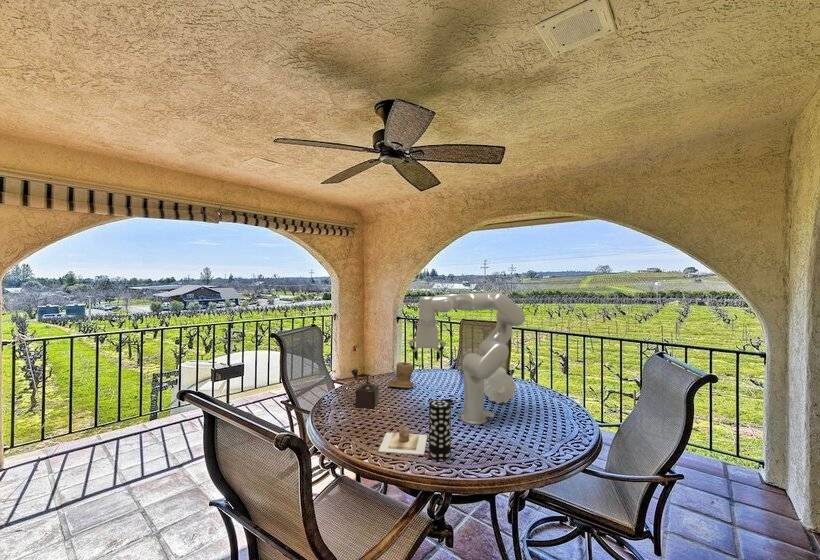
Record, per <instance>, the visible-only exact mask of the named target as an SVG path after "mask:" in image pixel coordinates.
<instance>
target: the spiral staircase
mask: <svg viewBox="0 0 820 560" xmlns="http://www.w3.org/2000/svg"><path fill="white" fill-rule="evenodd" d="M516 388H517V385H516V383H515V382H514V378H513V377H512V376H511V375H509V374H508V373H507V370H506V369H505V368H503V367H501V366H500V367H499V368H498V369H497V370H496V371H495V372H494V373H493V374H492V375H491V376H490V377H489V378H487V379H484V395H485V396H487V398H488V401H492V402H495V403H496V404H497V405H498V404H502V403H504V404H506V403H508V401H510V400H511V399H512V400H513V399H514V397H515V396H516Z"/></svg>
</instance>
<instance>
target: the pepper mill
mask: <svg viewBox="0 0 820 560" xmlns="http://www.w3.org/2000/svg"><path fill="white" fill-rule="evenodd" d="M358 373H359V370H358V368H353V369H352V370H351V375H352V377H353V378H354V380H355V381H365V380H366V383H365V384H363V383H362V384H360V385H359V386H358V387H357V389H356V390H355V409H361V408H366V409H365V410H374V409H376V408H377V406H378V405H377V404H379V401H380V399H379V395H380V394H379V393H380V392H379V391H380V390H379V388H380V387H379V386H380V385H378V384H377V385H375V384H373V383H371V382H370V381H369V378H370V377H369V374H366V375H365V376H366V377H362V378H358V377H359V375H358ZM375 407H376V408H375Z"/></svg>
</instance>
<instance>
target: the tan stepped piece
mask: <svg viewBox="0 0 820 560" xmlns="http://www.w3.org/2000/svg"><path fill="white" fill-rule="evenodd" d="M395 366H396V379H394V380H389V381H388V382H387V386H388V387H392V388H400V389H411V388H413V387H414V383H413V382H411V378H412V374H413V372H414V366H413V364H412V363H410V362H401V361H400V362H397V363H396V365H395Z"/></svg>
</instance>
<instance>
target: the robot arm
mask: <svg viewBox="0 0 820 560" xmlns="http://www.w3.org/2000/svg"><path fill="white" fill-rule="evenodd" d="M451 310H457V311H458V310H459V311H466V312H474V311H475V312H476V311H491V310H493V311H497V312H496V315H495V316H496V325H495V328H494V329H493V331H492V332H491V333H489V335H488V336H486V338H485V339H483V341H482V342H481V343H480V345H479V348H478V349H479V352H480V354H481V355H480V354H478V353H476V352H475V353H474V352H470V353H468V354H466V355H465V356H464V357H463V359H462V372H463V413H461V415H460V420H461V421H462V422H463V423H466V424H470V425H483V424H485V423H487V422H488V418H495V413H494V412H491V411H486V410H485V393H484V379H487V378H489V377H490V376H491V375H492V374H493V373H494V372H495V371H496V370H497V369H498V368H499V367H501V366H502V365H503V364H504V363H505V362H506V361H507V359H508V358H509V346H508V345H507V343H508V342H509V340H510V339H511V338H512V333H513V327H519V326H521V325H523V324H524V323H525V320H526V315H525V312H524V311H523V309H522V308H520V306H518V305H517V303H515V302H514V301H513V300H512V299H511V298H510V297H509V296H508V295H506V294H504V293H502V292H494V291H491V292H490V291H489V292H471V293H470V292H469V293H465V292H464V293H454V294H452V293H451V294H450V293H449V294H436V295H434V296H431V295H429V296H419V299H418V325H417V328H416V332H415V333H416V336H415V338H413V339H411V340H409V341H408V345H409V348H410V349H411V350H412V351H413V353H414V355H413V358H414V359H415V361H418V357H419V351H418V350H419V349H434V350H435V351H436V362H439V360H440V359H441V355H440V354H441V352H442V351H443V350H444V348H445V347H446V345H447V343H446V341H444V340H443V339H440V338H439V331H438V326H437V325H438V324H439V320H436V312H437V313H448V312H451ZM413 343H415V346H414V345H413ZM439 343H440V344H441V346H440V347H439Z"/></svg>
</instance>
